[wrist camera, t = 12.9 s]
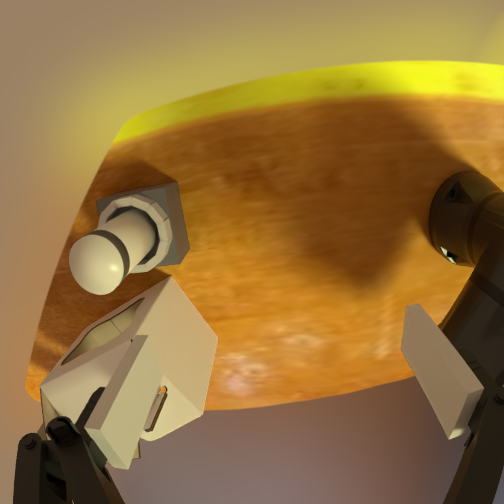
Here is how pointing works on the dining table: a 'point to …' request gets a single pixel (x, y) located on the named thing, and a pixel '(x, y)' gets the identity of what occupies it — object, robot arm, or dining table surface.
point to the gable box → (115, 346)
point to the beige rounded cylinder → (112, 251)
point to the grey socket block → (162, 212)
